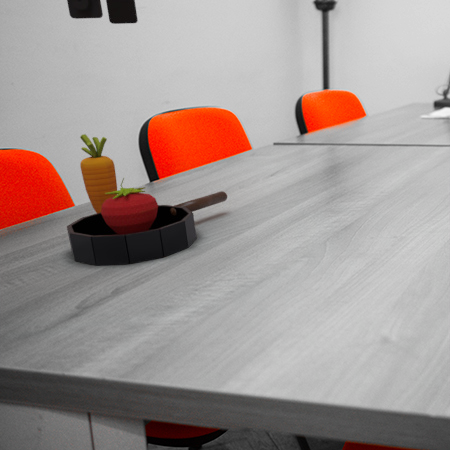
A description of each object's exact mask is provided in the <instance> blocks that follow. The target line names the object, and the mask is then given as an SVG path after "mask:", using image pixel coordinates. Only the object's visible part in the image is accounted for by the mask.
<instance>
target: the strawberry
mask: <svg viewBox="0 0 450 450" xmlns="http://www.w3.org/2000/svg"><path fill="white" fill-rule="evenodd" d="M124 181H125V177H122V181H121V183H120V188H119V190H118V189H117V191H113V192H108V193H105V194H117V195H116V196H114V197H111V198H109V199H107V200H105V202H104V203H103V204H102V207H101V214H102V216H103V218H104V220H105V222H106V224H107V225H108V226H109V227H110V228H111V229H113V230H114V231H115V232H116V233H117V234H118V235H121V234H130V233H136V232H142V231H147V230H149V229H150V227H151V225H152V223H153V222H154V220H155V218H156V216H157V210H158V205H159V204H158V202H157V199H156V197H154V196H153V195H151V194H150V193H146V190H144V189H146V187H137V188H135V187H128V188H126V187H123V185H122V184H123V183H124Z"/></svg>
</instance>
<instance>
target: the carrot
mask: <svg viewBox="0 0 450 450" xmlns="http://www.w3.org/2000/svg"><path fill="white" fill-rule="evenodd" d="M79 138H80V140H82V142H83V143H84V144H85V145H86V146H87V147H84V146H83V147H81V148H80V150H82V151H83V152H85V153H86V154H88V155H89V157H84V158H83V159H82V160H81V161H80V172H81V177H82V180H83V184H84V188H85V191H86V194H87V197H88V199H89V201H90V204H91V206H92V209H93V210H94V211H95V214H97V213H100V212H101V207H102V204H103V203H104V202H105V200H107V199H109V198H111V197H114V196H116V195H118V194H105V193H108V192H113V191H118V183H117V175H116V167H115V162H114V160H113V159H112V158H110V157H109V156H107V155H102V153H103V150H104V147H105V144H106V142H107V140H108V138H106V137H105V136H102V137H101V139H100V140H99V138H98V137H96V136H93V137H91V138H92V141H93V142H92V141H91V139H90V138H89V136H88V135H87V134H86V133H85V134H84V133H83V134H81V135H80V137H79ZM93 143H94V144H93Z"/></svg>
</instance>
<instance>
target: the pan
mask: <svg viewBox="0 0 450 450" xmlns="http://www.w3.org/2000/svg"><path fill="white" fill-rule="evenodd" d="M227 200H228V194H227V192H225V191H222V190H221V191H218V192H214V193H211V194H208V195H204V196H201V197H198V198H194V199H191V200H188V201H184V202H181V203H178V204H174V205H169V204H158V210H157V216H156V218H155V220H154V222H153V223H152V225H151V227H150V229H149V230H147V231H142V232H136V233H130V234H121V235H118V234H117V233H116V232H115V231H114V230H113V229H111V228H110V227H109V226H108V225H107V224H106V222H105V220H104V218H103V216H102V214H101V212H100V213H93V214H90V215H86V216H83V217H80V218H79V219H76V220H75V221H73V222H71V223H69V224H68V225H66V230H67V235H68V241H69V245H70V250H71V254H72V258H73V260H74V261H75V262H76V263H83V264H85V265H92V266H117V265H118V266H119V265H130V264H131V265H132V264H136V263H142V262H146V261H147V262H148V261H153V260H156V259H162V258H166V257H168V256H171V255H173V254H176V253H178V252H181V251H184V250H186V249H188V248H189V247H190V246H191V245H192V244H193V243H194V242H195V241H196V240H197V232H196V225H195V217H194V212H197V211H199V210H202V209H206V208H209V207H212V206H215V205H217V204H218V205H219V204H221V203H223V202H226V201H227Z"/></svg>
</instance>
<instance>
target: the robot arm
mask: <svg viewBox="0 0 450 450" xmlns="http://www.w3.org/2000/svg"><path fill="white" fill-rule="evenodd" d="M101 1H102V0H66V3H67V7H68V13H69V16H70V18H72V19H76V20H79V19H80V20H81V19H101V18H102V17H103V16H104V14H103V13H104V12H103V7H102V2H101ZM105 2H106V8H107V14H108V15H107V16H108V21H109V23H111V24H113V25H117V24H119V25H121V24H136V23H138V22H139V21H138V14H137V13H138V12H137V6H136V0H105Z"/></svg>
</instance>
